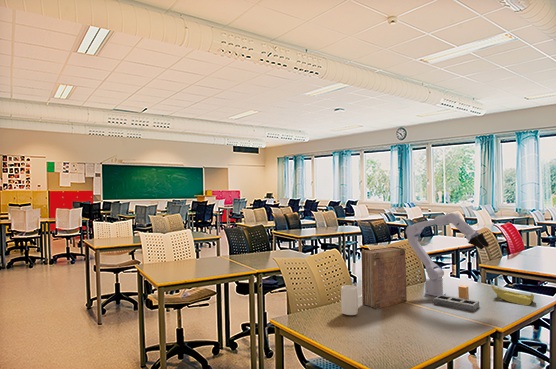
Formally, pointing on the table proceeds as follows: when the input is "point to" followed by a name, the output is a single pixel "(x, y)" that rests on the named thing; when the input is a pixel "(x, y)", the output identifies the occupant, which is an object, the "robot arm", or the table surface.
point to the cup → (349, 300)
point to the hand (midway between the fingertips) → (485, 247)
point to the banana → (513, 296)
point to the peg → (463, 292)
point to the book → (383, 277)
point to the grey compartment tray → (456, 302)
